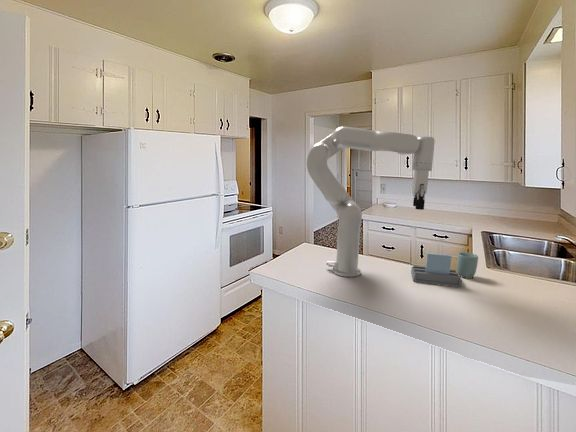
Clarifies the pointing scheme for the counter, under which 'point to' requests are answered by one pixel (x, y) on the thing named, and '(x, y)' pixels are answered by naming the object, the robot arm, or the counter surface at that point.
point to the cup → (467, 264)
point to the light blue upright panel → (438, 263)
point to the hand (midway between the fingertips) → (418, 207)
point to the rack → (435, 277)
